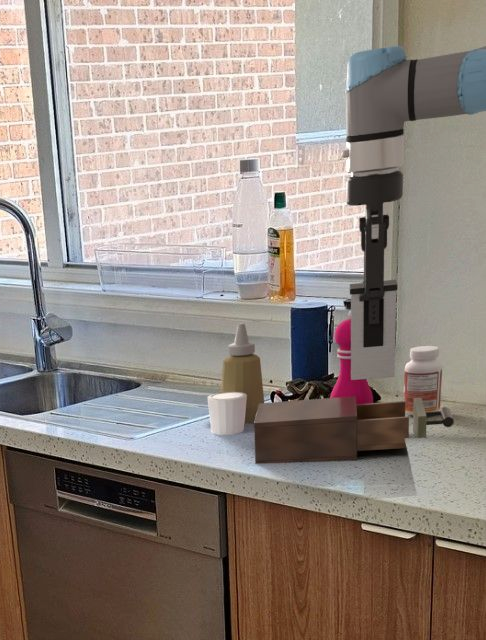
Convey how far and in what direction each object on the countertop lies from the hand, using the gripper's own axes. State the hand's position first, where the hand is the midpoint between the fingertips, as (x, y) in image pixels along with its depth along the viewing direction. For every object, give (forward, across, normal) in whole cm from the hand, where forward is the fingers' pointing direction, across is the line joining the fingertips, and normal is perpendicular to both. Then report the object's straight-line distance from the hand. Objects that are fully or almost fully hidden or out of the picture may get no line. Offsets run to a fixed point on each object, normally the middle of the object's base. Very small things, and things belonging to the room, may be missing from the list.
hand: (372, 342), depth 178 cm
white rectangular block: (+5, 0, 0) cm, 5 cm away
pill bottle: (+19, -37, +9) cm, 42 cm away
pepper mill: (+19, -29, -3) cm, 35 cm away
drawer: (+18, -14, +3) cm, 23 cm away
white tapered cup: (+19, -30, -24) cm, 43 cm away
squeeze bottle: (+19, -38, -22) cm, 48 cm away
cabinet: (+19, -14, -10) cm, 26 cm away
